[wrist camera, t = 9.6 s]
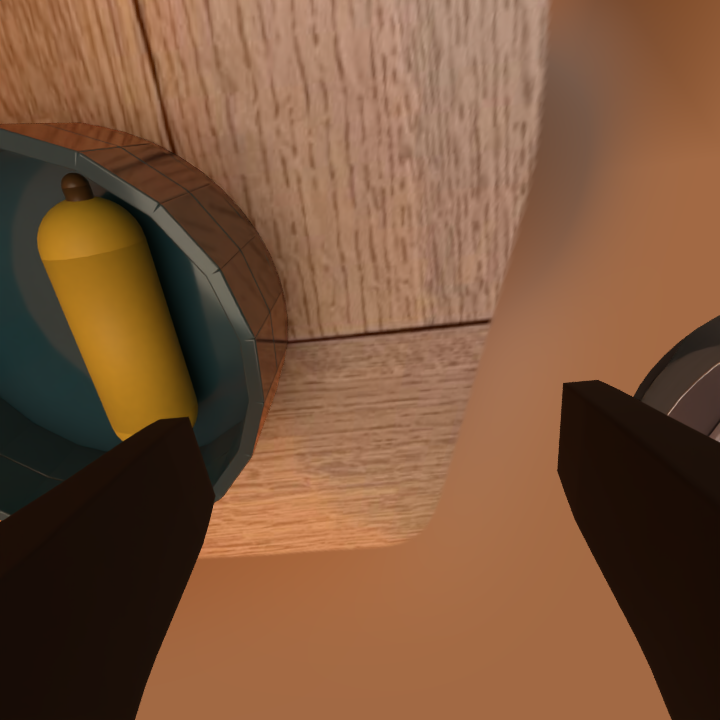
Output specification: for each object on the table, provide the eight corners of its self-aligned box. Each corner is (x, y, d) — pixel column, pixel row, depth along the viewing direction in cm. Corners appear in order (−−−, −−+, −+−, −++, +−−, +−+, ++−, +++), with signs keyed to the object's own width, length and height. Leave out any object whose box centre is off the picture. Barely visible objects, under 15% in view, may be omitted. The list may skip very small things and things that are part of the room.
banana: (177, 413, 22) (223, 432, 20) (109, 453, 19) (153, 479, 17) (93, 168, 17) (142, 162, 15) (-8, 183, 15) (34, 179, 13)
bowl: (325, 192, 17) (307, 219, 13) (254, 485, 23) (225, 573, 19) (-91, 66, 16) (-275, 46, 11) (-49, 412, 22) (-158, 488, 17)
